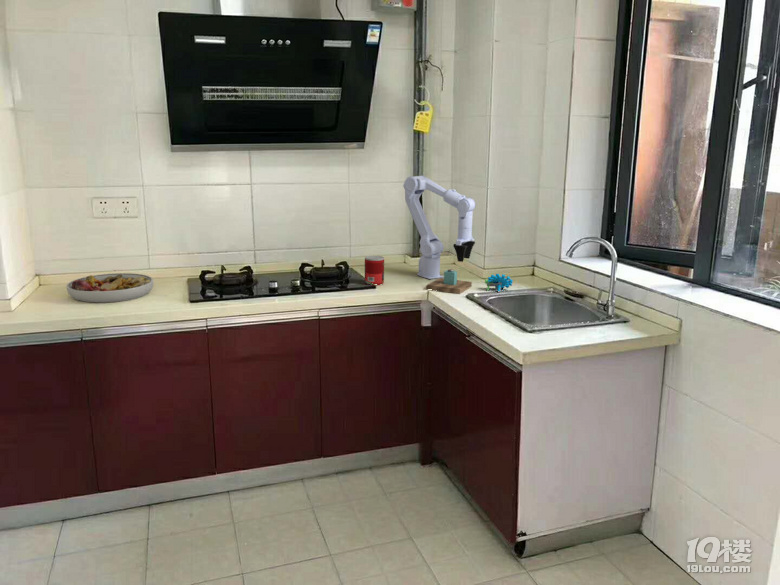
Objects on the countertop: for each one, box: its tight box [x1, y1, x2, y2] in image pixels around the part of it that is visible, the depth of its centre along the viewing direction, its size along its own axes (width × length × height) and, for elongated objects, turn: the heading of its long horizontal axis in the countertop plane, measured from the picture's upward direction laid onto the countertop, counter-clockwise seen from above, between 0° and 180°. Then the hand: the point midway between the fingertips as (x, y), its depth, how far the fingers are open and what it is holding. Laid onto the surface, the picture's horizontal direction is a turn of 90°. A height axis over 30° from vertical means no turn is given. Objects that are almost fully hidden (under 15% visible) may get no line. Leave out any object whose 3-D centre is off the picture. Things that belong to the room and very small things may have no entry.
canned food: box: [364, 255, 385, 286], centre depth 264 cm, size 8×8×11 cm
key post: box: [443, 269, 458, 285], centre depth 259 cm, size 4×3×8 cm
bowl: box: [66, 272, 154, 304], centre depth 242 cm, size 30×30×8 cm
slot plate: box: [426, 277, 473, 295], centre depth 259 cm, size 14×14×2 cm
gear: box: [484, 273, 514, 292], centre depth 256 cm, size 11×6×10 cm
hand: (463, 259), depth 269 cm, fingers open, 7 cm apart
